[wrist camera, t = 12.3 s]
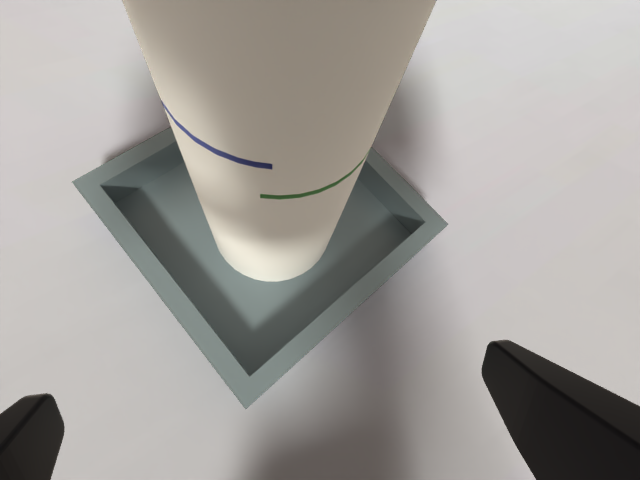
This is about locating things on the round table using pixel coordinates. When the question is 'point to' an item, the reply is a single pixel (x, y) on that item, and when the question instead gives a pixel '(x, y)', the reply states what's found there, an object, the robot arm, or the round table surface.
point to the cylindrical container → (276, 111)
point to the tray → (239, 290)
